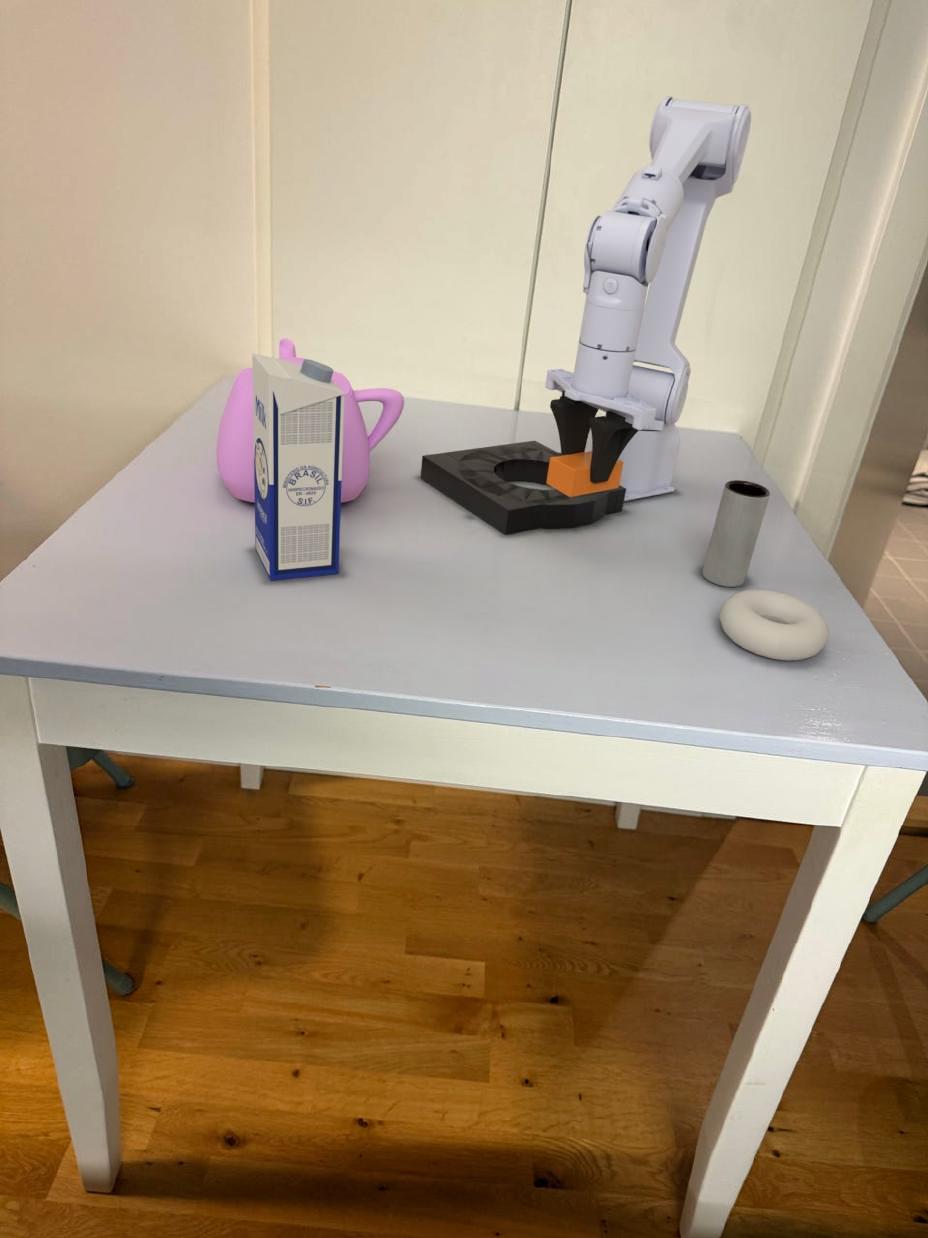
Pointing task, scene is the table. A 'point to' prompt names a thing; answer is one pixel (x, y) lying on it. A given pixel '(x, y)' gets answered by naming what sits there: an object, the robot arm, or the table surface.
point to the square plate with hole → (514, 488)
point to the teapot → (357, 446)
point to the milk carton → (297, 467)
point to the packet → (579, 475)
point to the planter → (735, 532)
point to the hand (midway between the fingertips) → (584, 473)
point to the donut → (774, 624)
